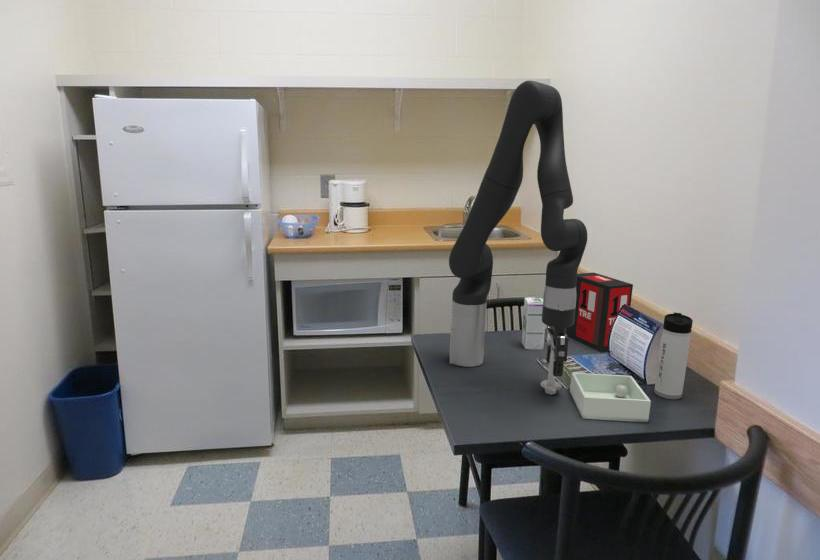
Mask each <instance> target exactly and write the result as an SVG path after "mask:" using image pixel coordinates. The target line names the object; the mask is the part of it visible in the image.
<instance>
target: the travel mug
mask: <svg viewBox="0 0 820 560" xmlns="http://www.w3.org/2000/svg"><path fill="white" fill-rule="evenodd" d="M693 322H694V320H693V318H691V317H690V316H687V315H685V314H682V312H673V313H668V314H665V315H664V318H663V325H662V332H661V340H660V347H659V353H658V354H659V355H658V361H657V362H658V363H657V369H656V374H655V375H656V376H655V383H654V389H653V392H654V394H655V395H657V396H658V397H660V398H663V399H666V400H679V399H681V398H682V397H683V389H684V384H685V377H686V371H687V365H688V359H689V350H690V343H691V336H692V328H693Z"/></svg>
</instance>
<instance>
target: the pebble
mask: <svg viewBox="0 0 820 560" xmlns="http://www.w3.org/2000/svg"><path fill="white" fill-rule="evenodd" d="M615 394H616V395H617V396H618V397H621V398H623V397H625V396H627V394H628V389H627V387H626V386H624V385H618V386H617V387H616V388H615Z"/></svg>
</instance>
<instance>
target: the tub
mask: <svg viewBox="0 0 820 560" xmlns="http://www.w3.org/2000/svg"><path fill="white" fill-rule="evenodd" d="M618 385H624V386H626V387H627V389H628V394H627V396H625V397H623V398H621V397H618V396H617V395H616V394H615V388H616V387H617V386H618ZM569 394H570V395H571V397H572V399H573V402H574V404H575V406H576V409H577V410H578V412H579V413H580V417H581V418H582V419H583V420H584V419H587V420H603V421H604V420H605V421H619V422H635V423H637V422H638V423H649V417H650V410H651V403H652V401H651V400H650V398H649V396H648V395H647V394H646V393H645V391H644V390H643V389H642V388H641V387H640V385H639V384H638V382H637V381H636V380H635V379H634V377H633V376H632V375H623V374H605V373H604V374H603V373H584V372H571V377H570V385H569Z"/></svg>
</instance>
